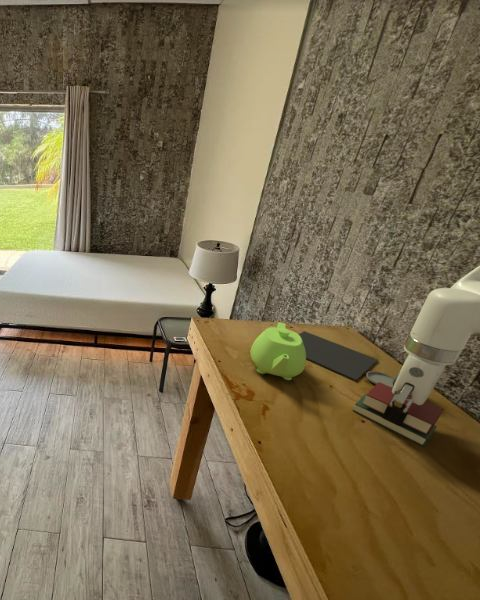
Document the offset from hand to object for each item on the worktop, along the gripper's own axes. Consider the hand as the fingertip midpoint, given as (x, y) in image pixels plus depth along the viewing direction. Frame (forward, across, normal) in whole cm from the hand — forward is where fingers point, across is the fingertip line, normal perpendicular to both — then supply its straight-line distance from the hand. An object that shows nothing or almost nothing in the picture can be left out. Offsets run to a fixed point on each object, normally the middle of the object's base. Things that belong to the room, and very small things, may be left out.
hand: (397, 413), depth 71 cm
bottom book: (+3, 0, 0) cm, 3 cm away
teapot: (+2, -2, +26) cm, 26 cm away
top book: (0, 0, 0) cm, 0 cm away
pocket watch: (+3, +15, +5) cm, 16 cm away
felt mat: (+3, +18, +20) cm, 27 cm away
